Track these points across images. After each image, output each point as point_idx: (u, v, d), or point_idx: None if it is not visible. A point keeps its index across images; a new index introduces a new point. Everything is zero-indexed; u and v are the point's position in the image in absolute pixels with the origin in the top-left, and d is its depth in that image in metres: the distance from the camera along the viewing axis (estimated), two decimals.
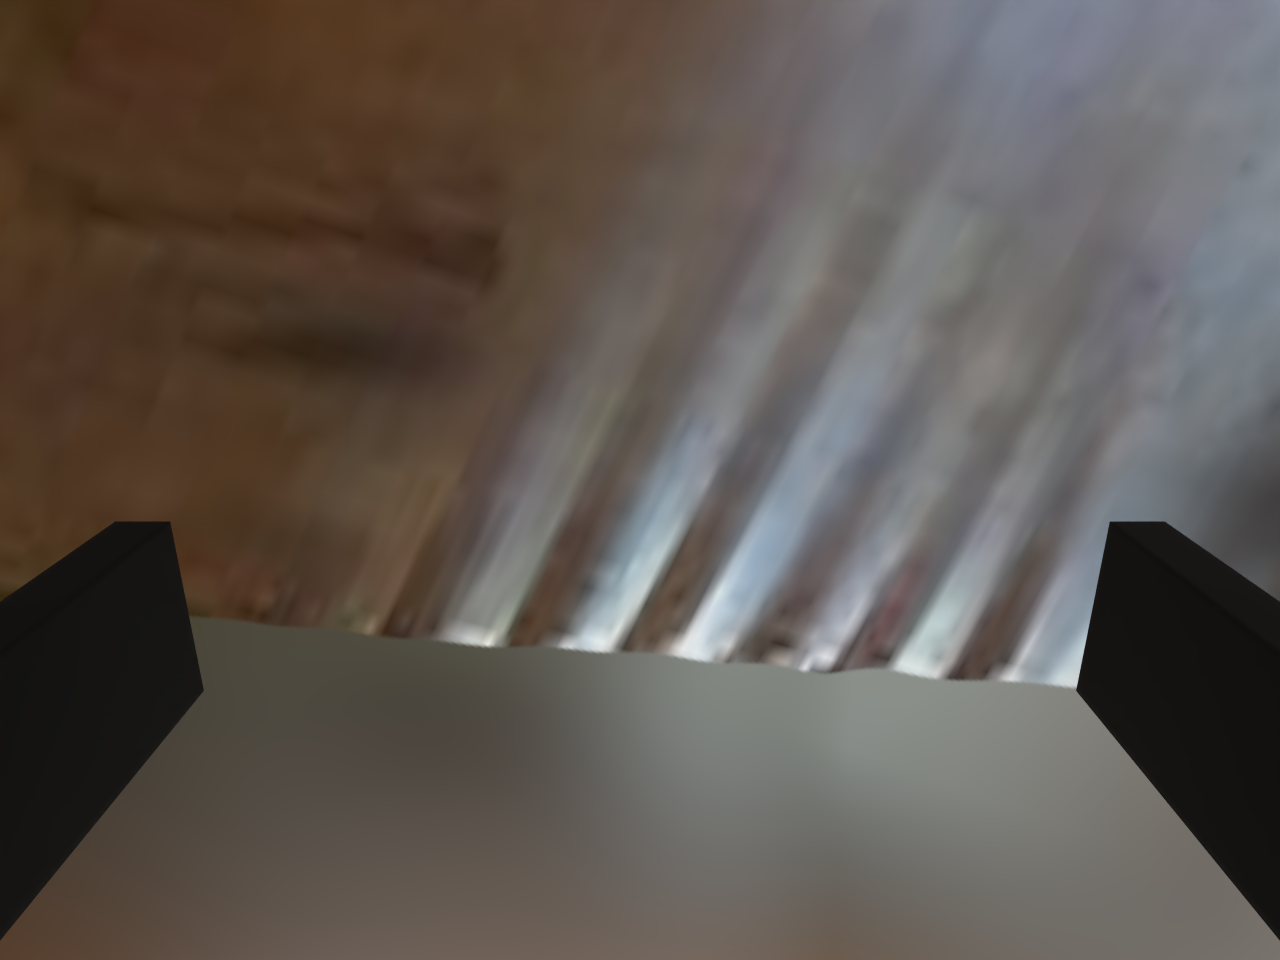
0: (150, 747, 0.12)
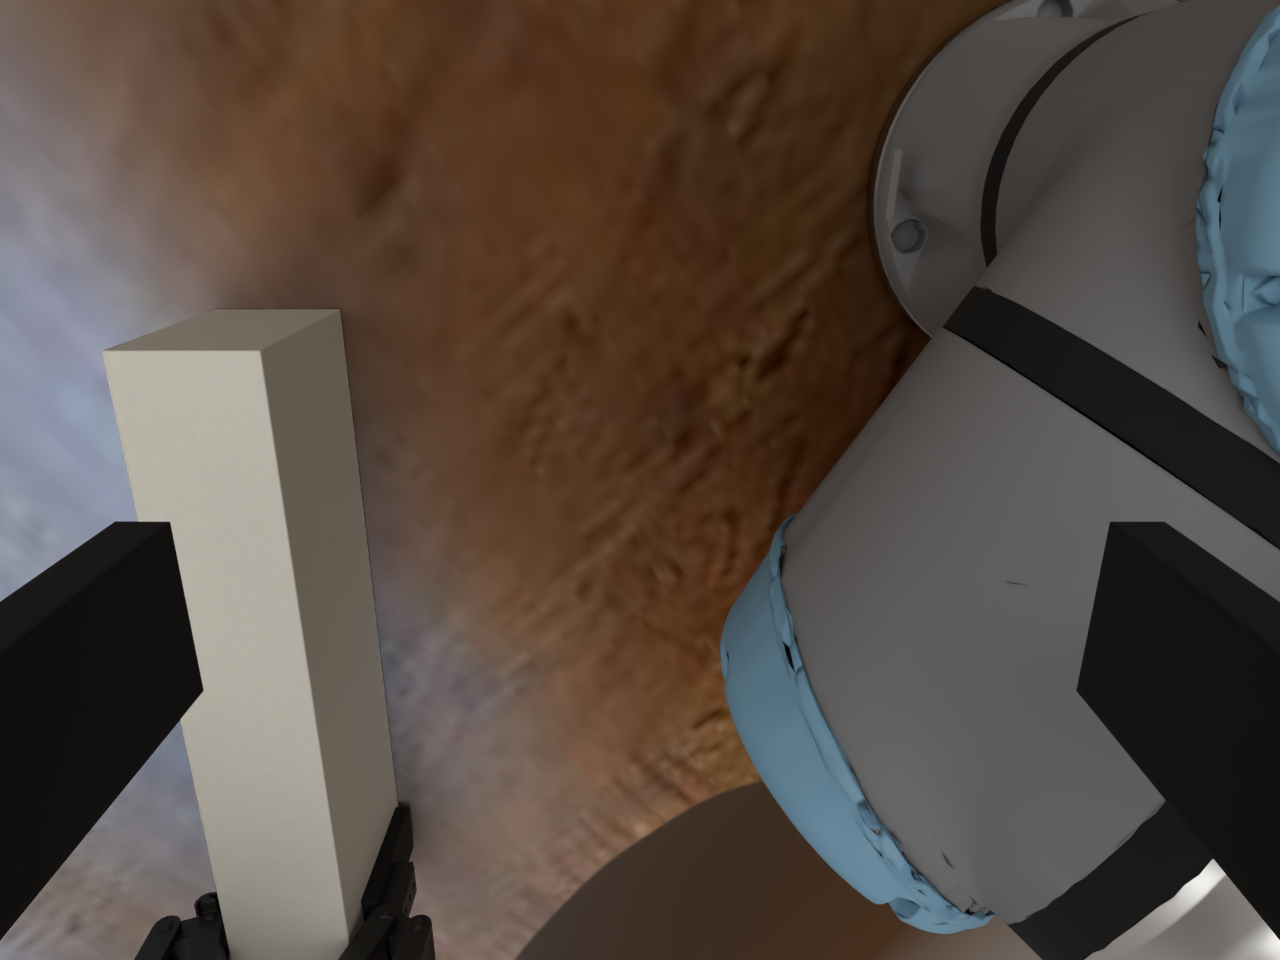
0: (150, 747, 0.12)
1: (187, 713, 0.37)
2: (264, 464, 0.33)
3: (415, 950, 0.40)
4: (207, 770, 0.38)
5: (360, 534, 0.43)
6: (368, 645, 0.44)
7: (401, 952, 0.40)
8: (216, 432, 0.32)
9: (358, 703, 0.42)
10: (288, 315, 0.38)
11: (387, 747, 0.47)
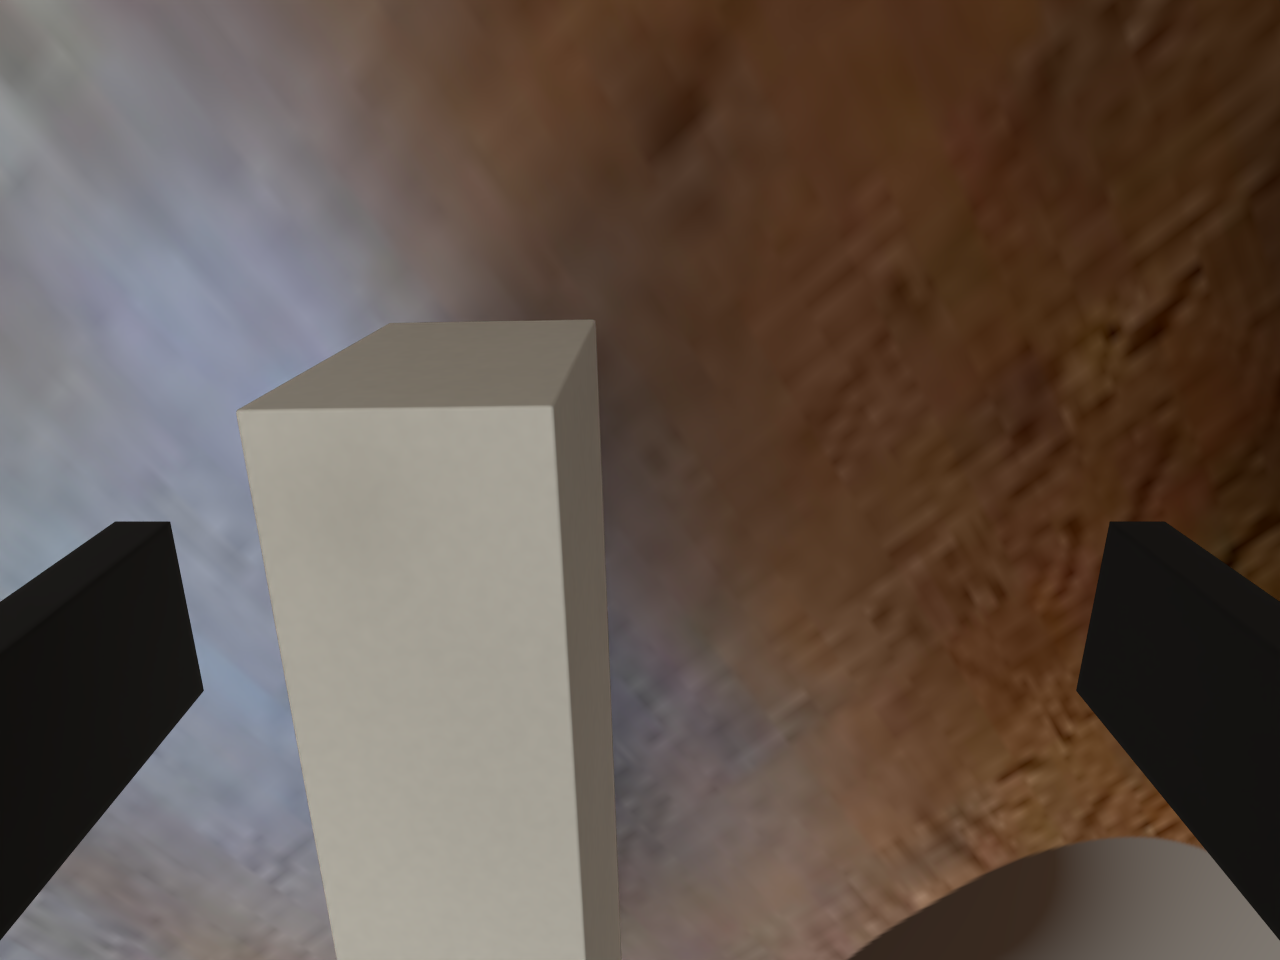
0: (150, 747, 0.12)
1: None
2: (541, 624, 0.17)
3: None
4: None
5: (607, 680, 0.26)
6: (612, 849, 0.28)
7: None
8: (452, 565, 0.16)
9: (609, 955, 0.26)
10: (522, 331, 0.22)
11: None
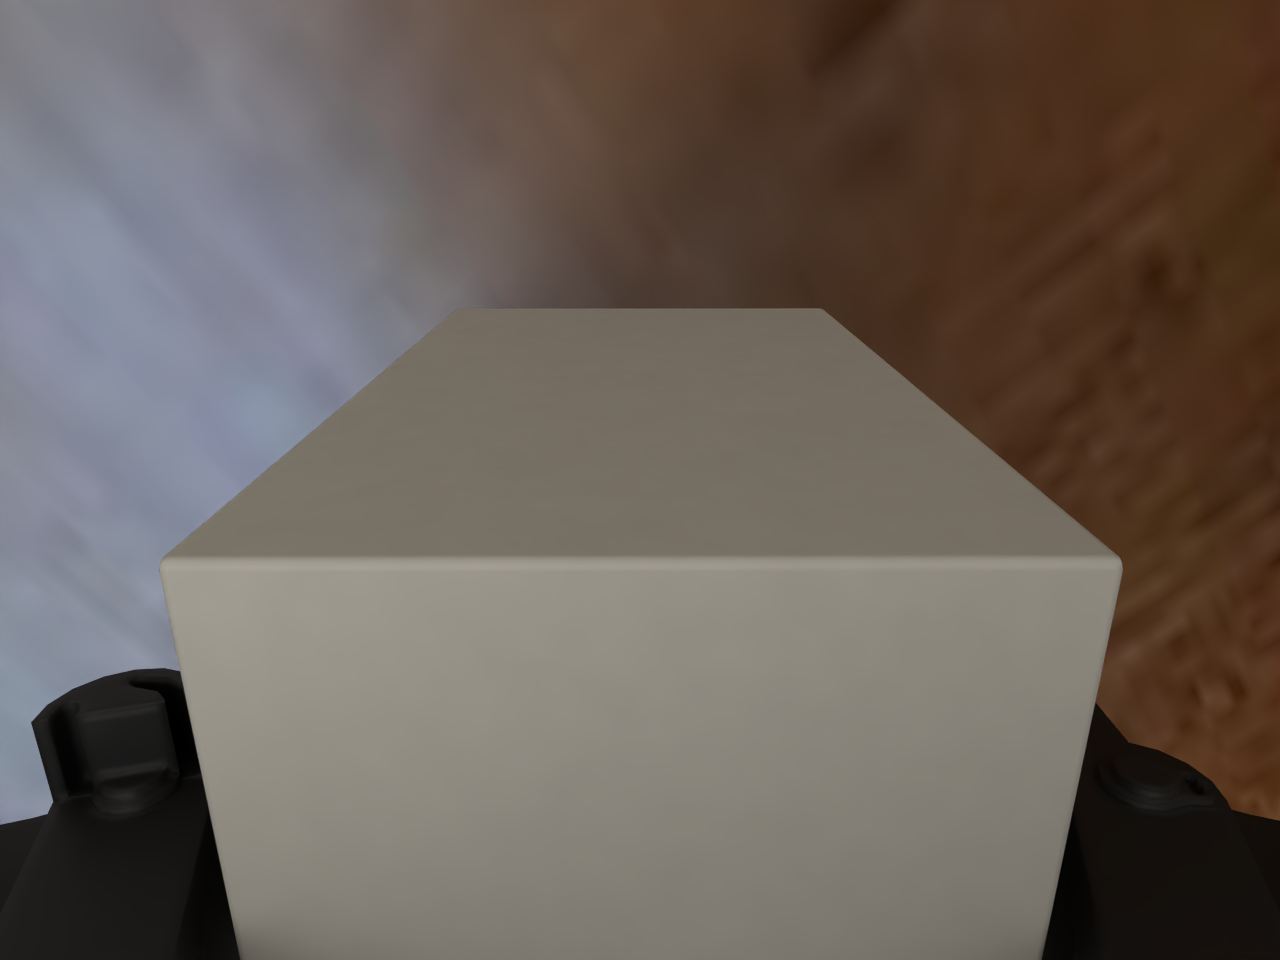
0: None
1: None
2: None
3: None
4: None
5: None
6: None
7: None
8: (751, 956, 0.06)
9: None
10: (721, 327, 0.12)
11: None
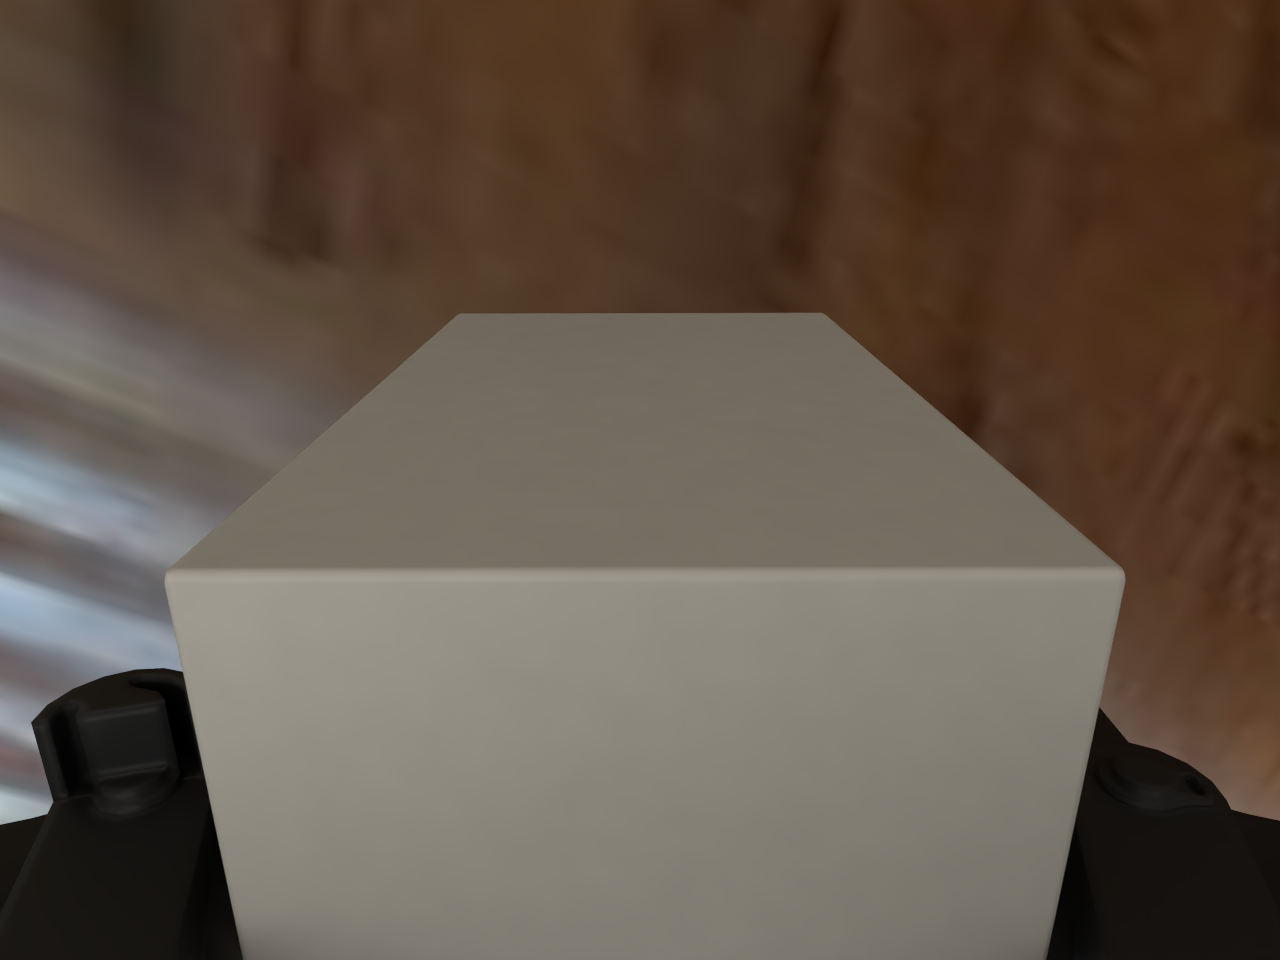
0: None
1: None
2: None
3: None
4: None
5: None
6: None
7: None
8: None
9: None
10: (722, 333, 0.12)
11: None
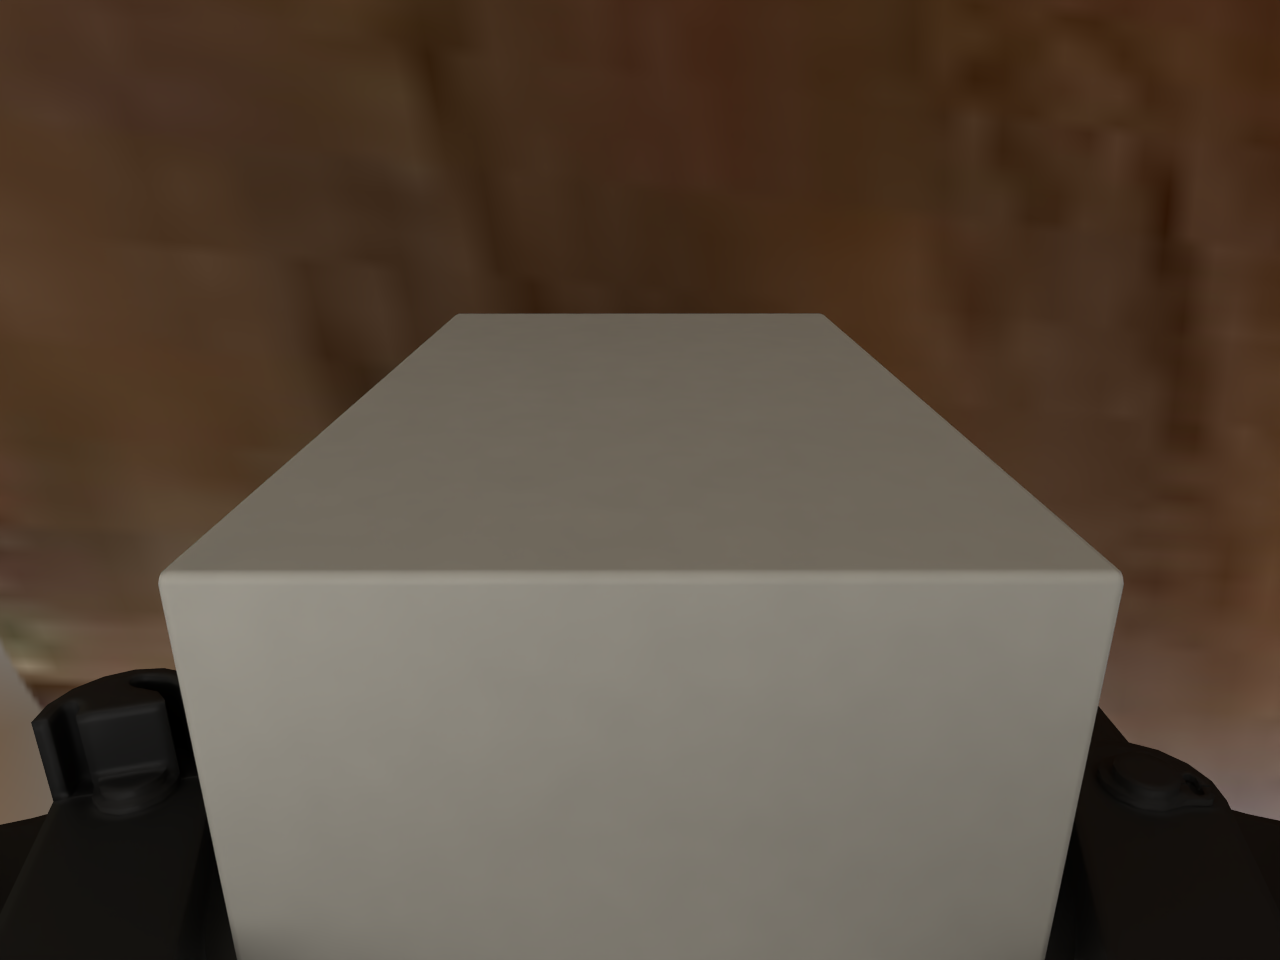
0: None
1: None
2: None
3: None
4: None
5: None
6: None
7: None
8: None
9: None
10: (721, 333, 0.12)
11: None
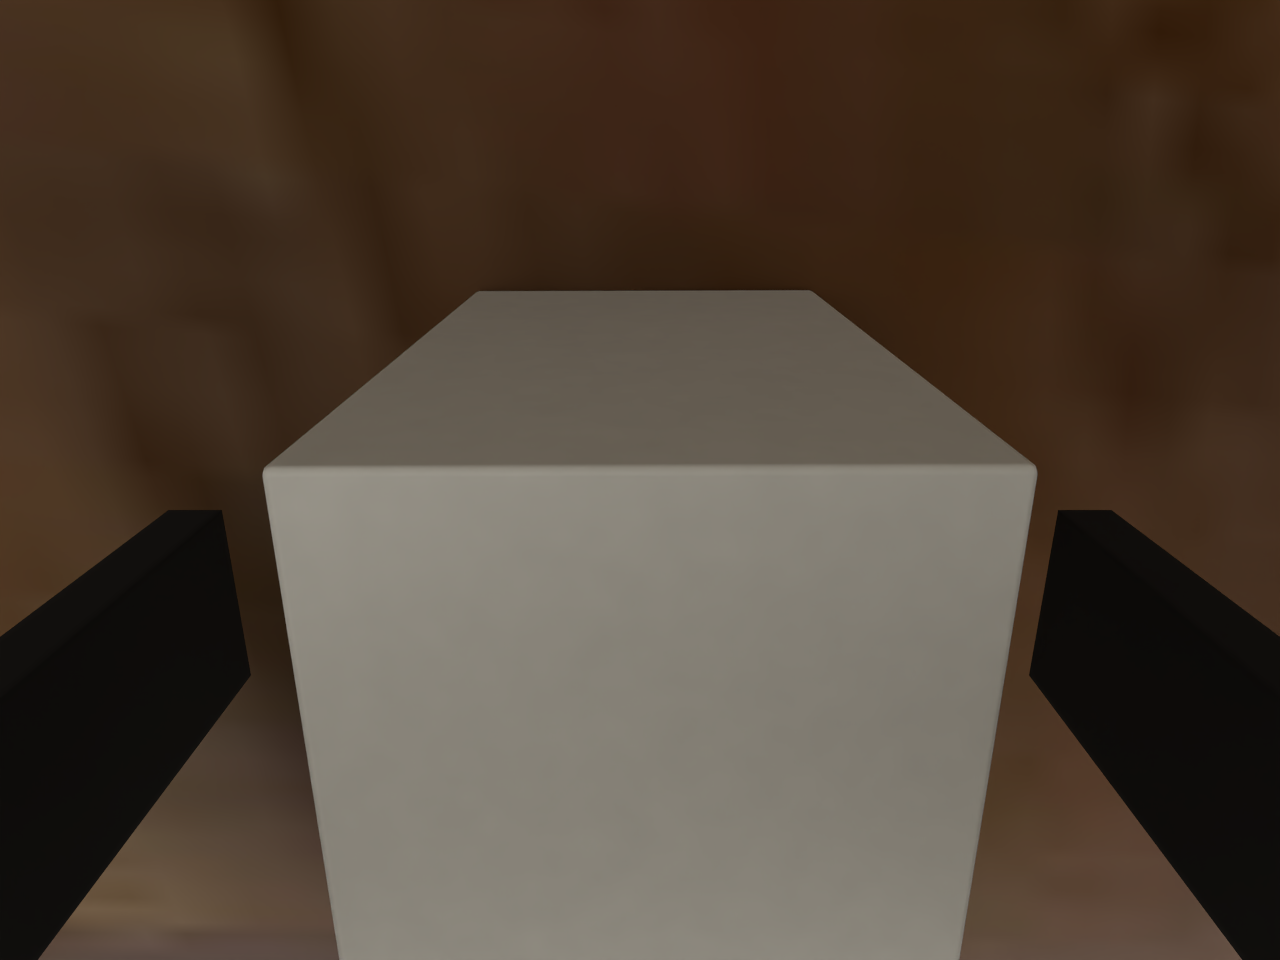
0: (205, 728, 0.12)
1: None
2: (915, 923, 0.08)
3: None
4: None
5: None
6: None
7: None
8: (741, 809, 0.07)
9: None
10: (718, 305, 0.13)
11: None
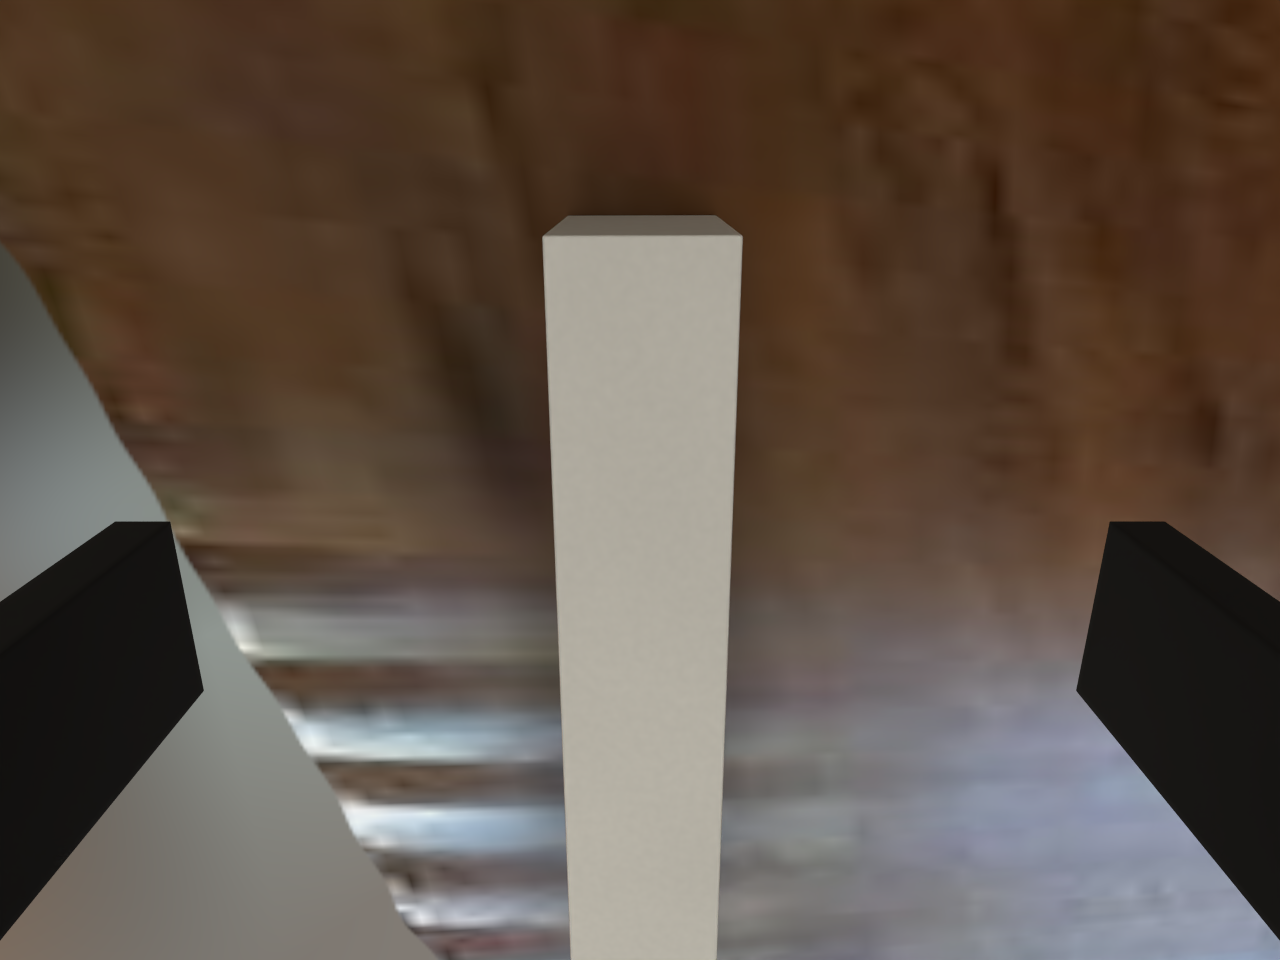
0: (150, 747, 0.12)
1: (571, 697, 0.30)
2: (721, 383, 0.26)
3: None
4: (584, 766, 0.31)
5: None
6: None
7: None
8: (668, 342, 0.26)
9: None
10: (672, 218, 0.32)
11: None
